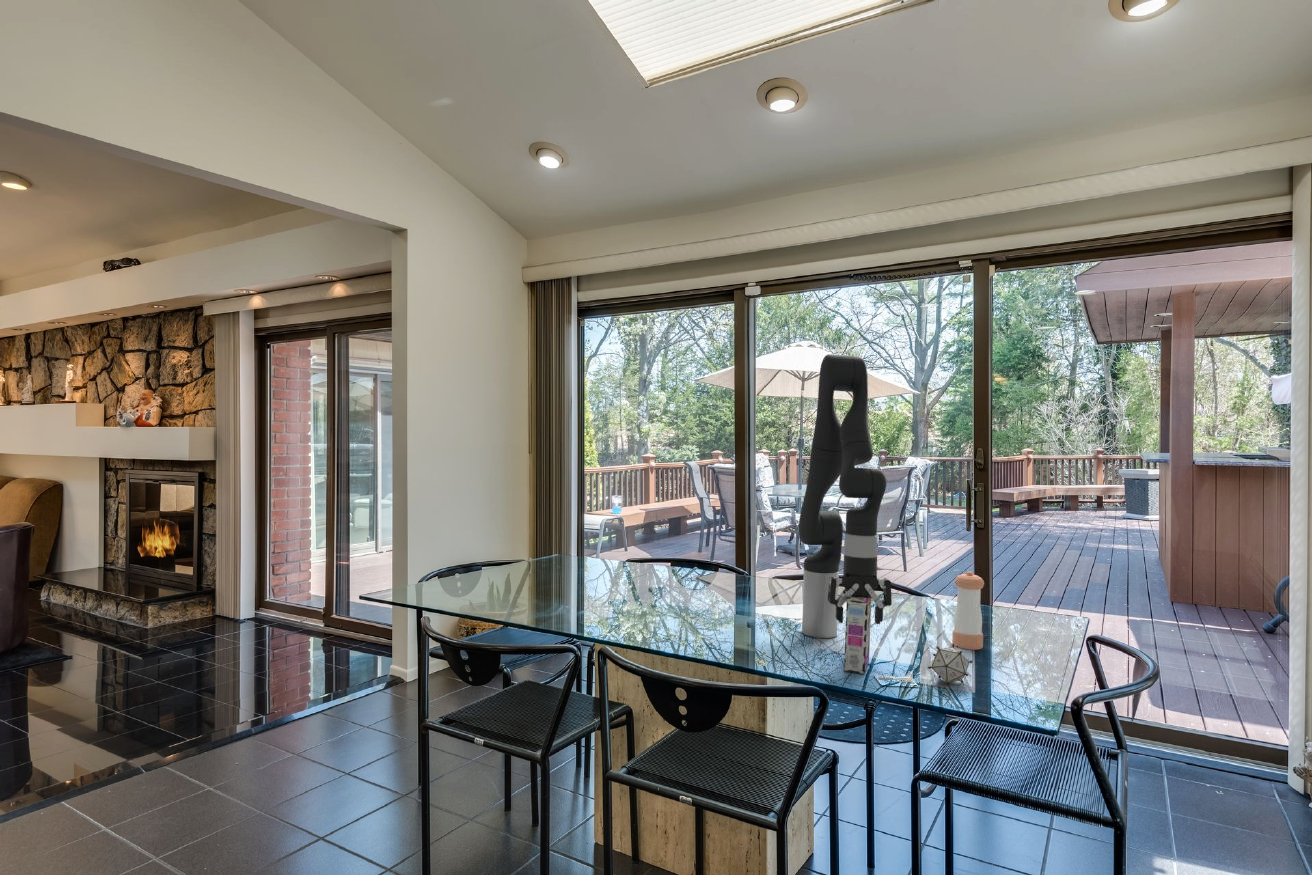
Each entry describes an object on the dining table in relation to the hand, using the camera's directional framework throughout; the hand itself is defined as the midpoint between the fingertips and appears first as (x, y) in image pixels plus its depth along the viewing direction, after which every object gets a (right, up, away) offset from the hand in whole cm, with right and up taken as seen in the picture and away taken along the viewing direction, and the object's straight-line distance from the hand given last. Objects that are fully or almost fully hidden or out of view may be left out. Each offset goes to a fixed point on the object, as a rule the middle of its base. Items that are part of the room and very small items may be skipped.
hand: (858, 622), depth 168 cm
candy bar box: (0, -10, 0) cm, 10 cm away
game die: (+17, -11, -10) cm, 23 cm away
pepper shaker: (+33, -11, +19) cm, 40 cm away
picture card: (+5, -10, -10) cm, 15 cm away
